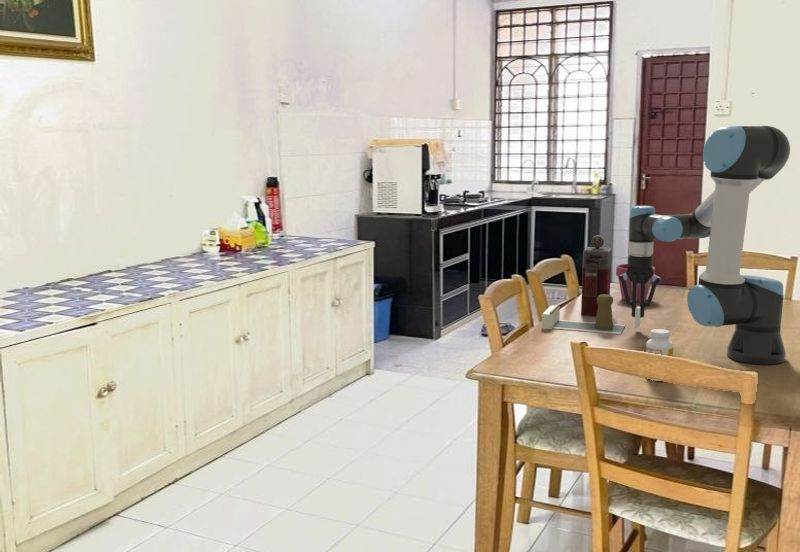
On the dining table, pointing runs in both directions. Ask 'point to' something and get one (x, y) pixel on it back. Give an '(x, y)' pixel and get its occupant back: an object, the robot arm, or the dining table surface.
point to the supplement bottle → (660, 343)
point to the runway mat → (586, 327)
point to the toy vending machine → (595, 275)
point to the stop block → (550, 317)
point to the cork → (604, 312)
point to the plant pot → (620, 271)
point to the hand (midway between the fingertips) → (637, 326)
